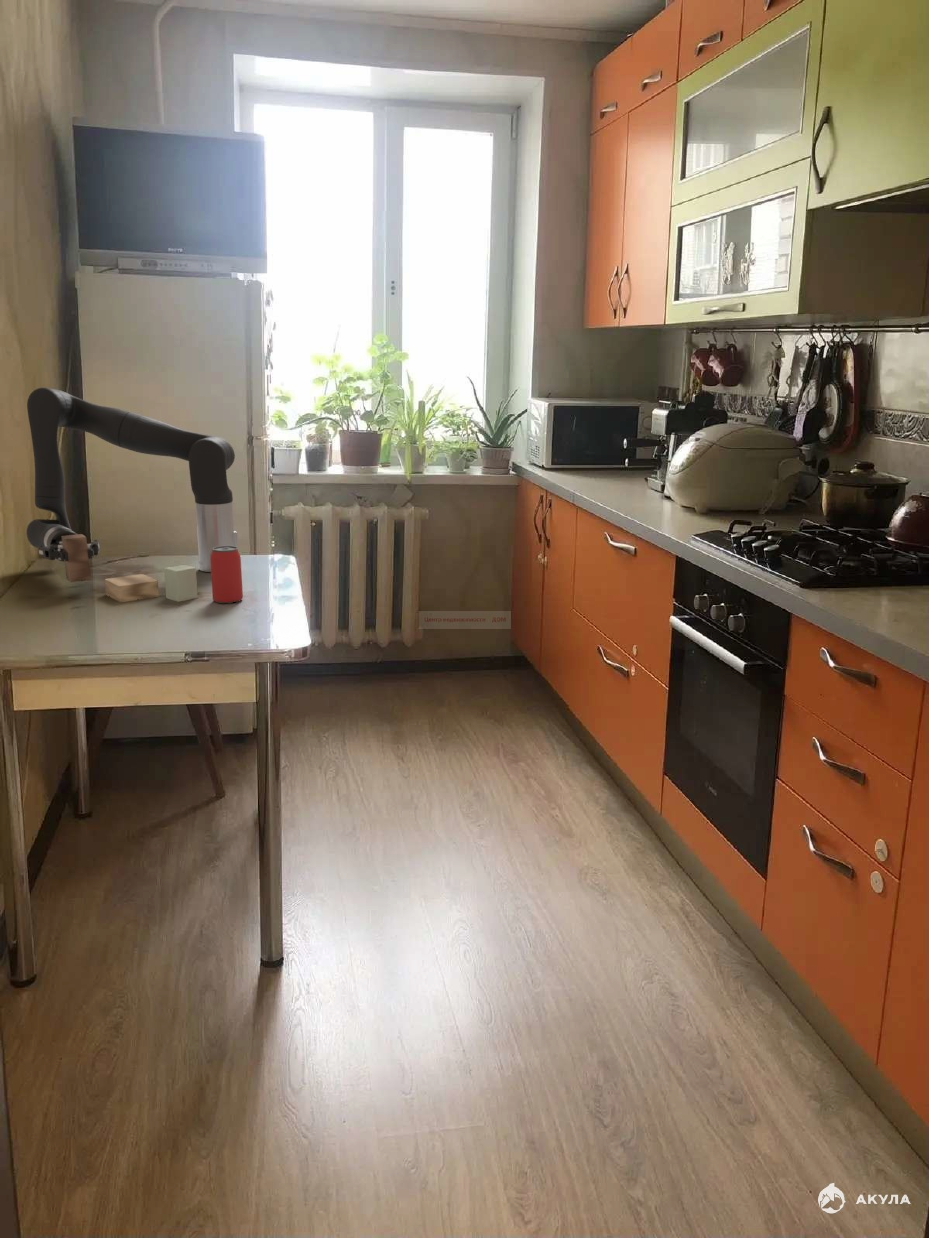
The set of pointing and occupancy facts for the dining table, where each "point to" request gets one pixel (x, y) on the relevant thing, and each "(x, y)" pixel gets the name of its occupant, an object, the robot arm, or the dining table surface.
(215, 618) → the dining table surface
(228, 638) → the dining table surface
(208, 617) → the dining table surface
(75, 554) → the walnut pillar
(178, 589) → the sage green block
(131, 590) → the oak base block
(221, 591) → the beer can
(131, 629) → the dining table surface
